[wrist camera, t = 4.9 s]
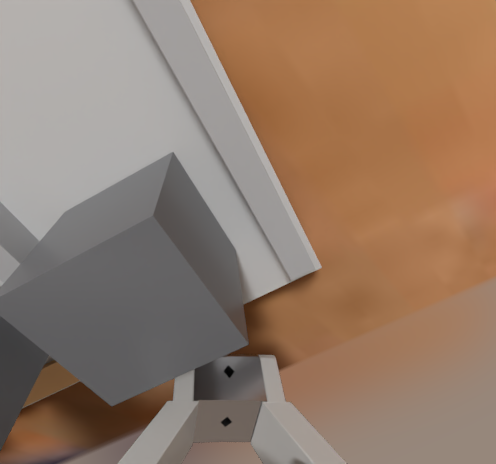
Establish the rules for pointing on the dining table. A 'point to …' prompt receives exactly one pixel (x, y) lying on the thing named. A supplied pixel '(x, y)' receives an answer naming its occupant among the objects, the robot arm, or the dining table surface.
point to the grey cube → (131, 286)
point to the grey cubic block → (16, 374)
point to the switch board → (130, 133)
